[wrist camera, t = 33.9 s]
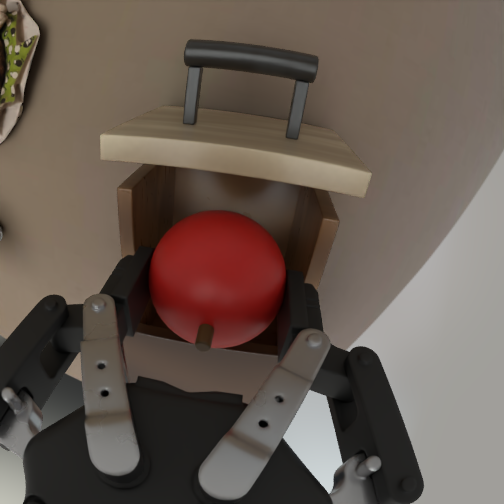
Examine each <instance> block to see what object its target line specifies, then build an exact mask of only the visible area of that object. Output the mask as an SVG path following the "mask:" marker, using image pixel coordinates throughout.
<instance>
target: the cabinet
mask: <svg viewBox="0 0 504 504" xmlns="http://www.w3.org/2000/svg"><path fill="white" fill-rule="evenodd" d="M123 345H124V351H125V357H126V363H127V369H128V374H129V379H130V383H136V381H137V378H138V376H142V377H146V378H151V379H155V380H160V381H164V382H166V383H168V384H170V385H172V386H175V387H177V388H179V389H181V390H184V391H186V392H210V391H219V392H226V393H233V394H240V395H243V400H242V402H244V403H246V404H249V403H250V402H251V400H252V399H253V397H254V396H255V394H256V393H257V392H258V390H259V389H260V387H261V386H262V384H263V383H264V381H265V380H266V378H267V377H268V376H269V374H270V373H271V371H272V370H273V368H274V367H275V366H276V365H279V363H280V362H278V346H275V345H267V344H259V343H251V342H245V343H243V344H240V345H237V346H233V347H227V348H211V349H210V350H209V351H207V352H201V351H198V350H197V349H196V348H195V344H193V343H190V342H188V341H186V340H185V339H183V338H181V337H180V336H178V335H177V334H175V333H174V332H173V331H172V330H171V329H166V328H161V327H156V326H151V325H146V324H142V323H139V325H138V327H137V330H136V332H135V335H134V337H130V336H125V338H124V341H123Z"/></svg>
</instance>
